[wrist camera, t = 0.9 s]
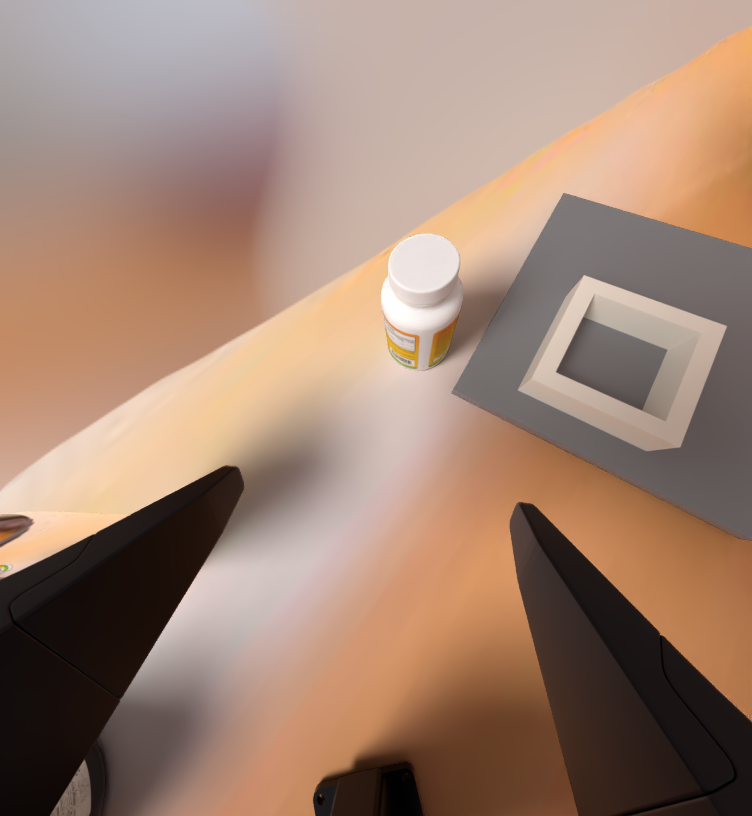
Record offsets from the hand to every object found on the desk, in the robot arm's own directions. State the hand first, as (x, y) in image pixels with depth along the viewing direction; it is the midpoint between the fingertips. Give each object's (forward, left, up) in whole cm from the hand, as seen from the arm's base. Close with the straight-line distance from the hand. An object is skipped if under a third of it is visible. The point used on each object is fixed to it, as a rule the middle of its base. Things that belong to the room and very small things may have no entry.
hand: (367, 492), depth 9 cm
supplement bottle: (+11, -6, -14) cm, 18 cm away
